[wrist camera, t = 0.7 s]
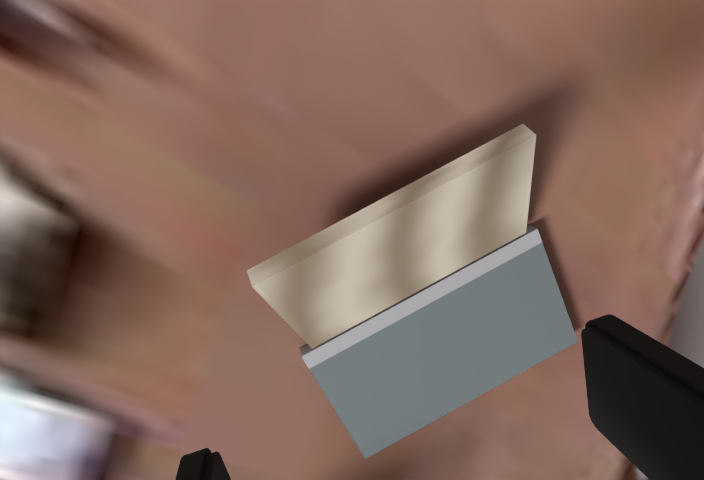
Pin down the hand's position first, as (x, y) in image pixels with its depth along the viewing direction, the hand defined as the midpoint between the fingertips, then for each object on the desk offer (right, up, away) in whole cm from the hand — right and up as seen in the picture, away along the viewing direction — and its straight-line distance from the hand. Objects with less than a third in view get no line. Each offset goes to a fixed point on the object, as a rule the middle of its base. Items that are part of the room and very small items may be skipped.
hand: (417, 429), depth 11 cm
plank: (+2, +4, +19) cm, 19 cm away
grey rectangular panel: (+6, -4, +25) cm, 26 cm away
